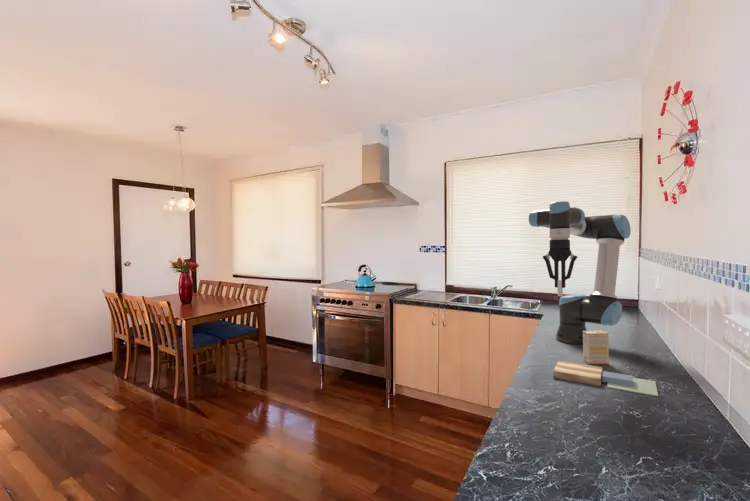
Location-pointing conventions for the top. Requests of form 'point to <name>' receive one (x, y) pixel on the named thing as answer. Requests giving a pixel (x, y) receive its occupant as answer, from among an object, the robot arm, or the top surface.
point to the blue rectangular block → (617, 378)
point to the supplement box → (595, 347)
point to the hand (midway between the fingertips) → (560, 295)
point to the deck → (578, 373)
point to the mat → (638, 387)
